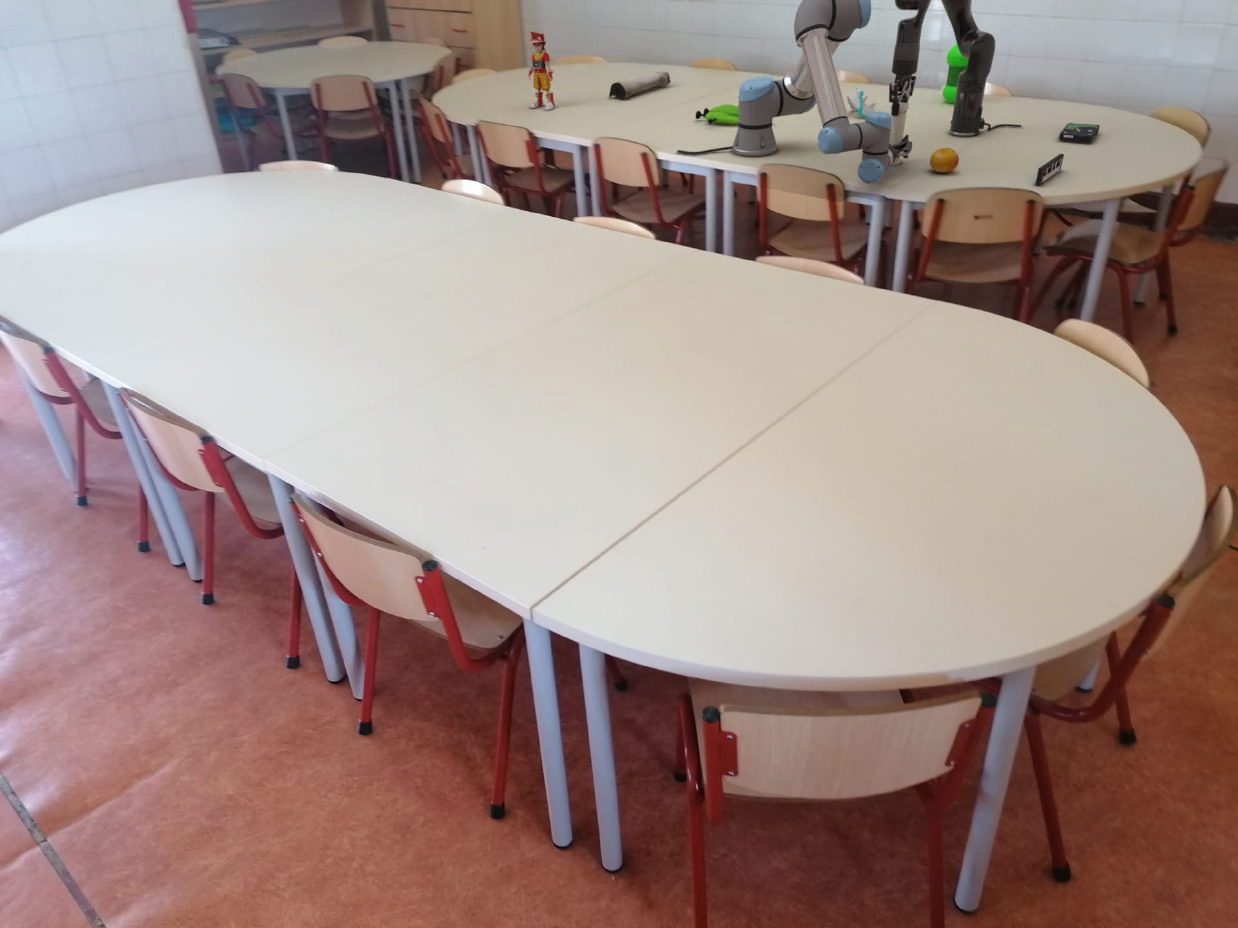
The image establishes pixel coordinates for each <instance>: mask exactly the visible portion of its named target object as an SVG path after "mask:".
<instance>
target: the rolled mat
mask: <svg viewBox="0 0 1238 928" xmlns="http://www.w3.org/2000/svg"><path fill="white" fill-rule="evenodd" d="M671 83H672V81H671V77H670V74H669V72H668V71H658V72H654V73H649V74H645V75H640V76H637V77H633V78H628V79H623V80H620V81H616V82H613V83H612V84H611V85H610V89H609V95H608V97H609V98H611V97H616V99H620V100H622V101H623V100H626V99H627V98H629V97H630V96H632V95H635V94H636V93H638V92H640V91H643V90H644V89H647V88H650V87H655V86H658V87H659V86H661V87H665V86H669V85H670V84H671Z"/></svg>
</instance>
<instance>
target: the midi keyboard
mask: <svg viewBox="0 0 1238 928" xmlns="http://www.w3.org/2000/svg"><path fill="white" fill-rule="evenodd" d="M1064 157H1065V153H1059V154H1058V155H1056V156H1055V157H1052V159H1051V160H1049V161H1047V162H1045V164H1042V165H1041V166H1039V167H1038V169H1037V175H1036V179H1035V186H1040V185H1042V183H1044V182H1045V181H1047V180H1048V179H1049V178H1051V177H1052V176H1054V175H1055V174H1056V173H1058V172H1060V171H1061V170H1062V165H1063V161H1064Z"/></svg>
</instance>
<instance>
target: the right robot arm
mask: <svg viewBox="0 0 1238 928" xmlns="http://www.w3.org/2000/svg"><path fill="white" fill-rule="evenodd" d="M940 1H941V4H942V7H943V8H944V10H945V13H946V16H947V18H948V20H949V22H950V25H951V28H952V30H953V35H954V38H955V41H956V44H957V46H958V49H959V52H960V54H961V55H962V56H963V57H964V58H966V59H968V64H967V68H966V70H965V71H963V72H961V73H960V74H959V77H958V83H957V90H956V96H955V103H953V110H952V115H951V120H950V129H949V134H950V135H952V136H956V137H973V136H979V131H980V130H984V129H985V126H986V127H987V130H988V131H992V130H994V129H996V128H999V127H1013V128H1021V127H1022V124H1013V123H1012V124H1011V123H1010V124H1009V123H1001V124H996V125H993V126H991V124H990V123H988V122H986V120H985V118H984V117H982V115H983V109H984V107H983V102H984V96H985V90H986V83H987V79H988V77H989V75H990V73H991V70H992V65H993V62H994V57H995V51H996V38H995V36H994V35H993V34H992V33H990V32H987V31H984V30H980V29H979V27H978V25H977V23H976V21H975V18H974V16H973V12H972V4H973V3H972V2H973V0H940ZM931 2H932V0H894V5H895V7H896V8H897V9H899V10H900V11H917V12H916V15H914V16H912V17H907V18H903V19H901V20H899V22H898V24H897V32H896V40H895V45H894V50H893V57H892V65H891V73H892V74H894V75H895V77H894V80H893V82H890V83H889V85H888V86H889V87H888V88H889V89H888V103H891V105H892V110H891V112H890V115H892V116H898V115H899V108H900V102H904V103H908V104H909V100H910V97H912V96H913V93H914V89H915V86H916V85H915V84H916V82H917V81H916V80H917V76H916V75H914V74H916V73H917V72H918V64H919V57H920V52H921V36H922V30H923V25H924V20H925V18H926V14H927V12H928V10H929V7H930V5H931ZM892 103H893V104H892ZM906 112H908V110H906Z"/></svg>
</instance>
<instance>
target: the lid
mask: <svg viewBox="0 0 1238 928" xmlns="http://www.w3.org/2000/svg"><path fill="white" fill-rule="evenodd" d="M892 104H893V103H891V104H890V110H891V111H892ZM909 105H910V103H909V102H908V103H904V102H900V108H899V111H906V110H907V111H908V110H909V107H910V106H909ZM907 111H906V112H907Z"/></svg>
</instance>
